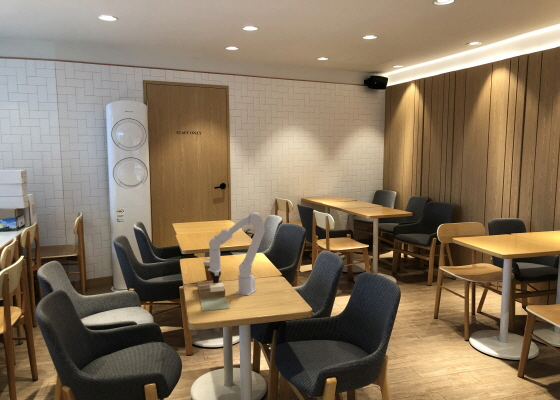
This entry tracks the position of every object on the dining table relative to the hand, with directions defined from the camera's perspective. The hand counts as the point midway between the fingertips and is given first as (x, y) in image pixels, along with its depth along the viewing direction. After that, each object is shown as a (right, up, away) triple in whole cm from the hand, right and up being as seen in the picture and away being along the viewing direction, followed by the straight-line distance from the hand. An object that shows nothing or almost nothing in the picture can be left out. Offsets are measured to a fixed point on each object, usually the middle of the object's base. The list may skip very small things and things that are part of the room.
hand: (215, 285), depth 230 cm
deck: (-3, -5, +2) cm, 6 cm away
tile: (+1, 0, -4) cm, 5 cm away
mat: (+1, -6, -15) cm, 16 cm away
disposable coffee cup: (-6, -2, +26) cm, 27 cm away
